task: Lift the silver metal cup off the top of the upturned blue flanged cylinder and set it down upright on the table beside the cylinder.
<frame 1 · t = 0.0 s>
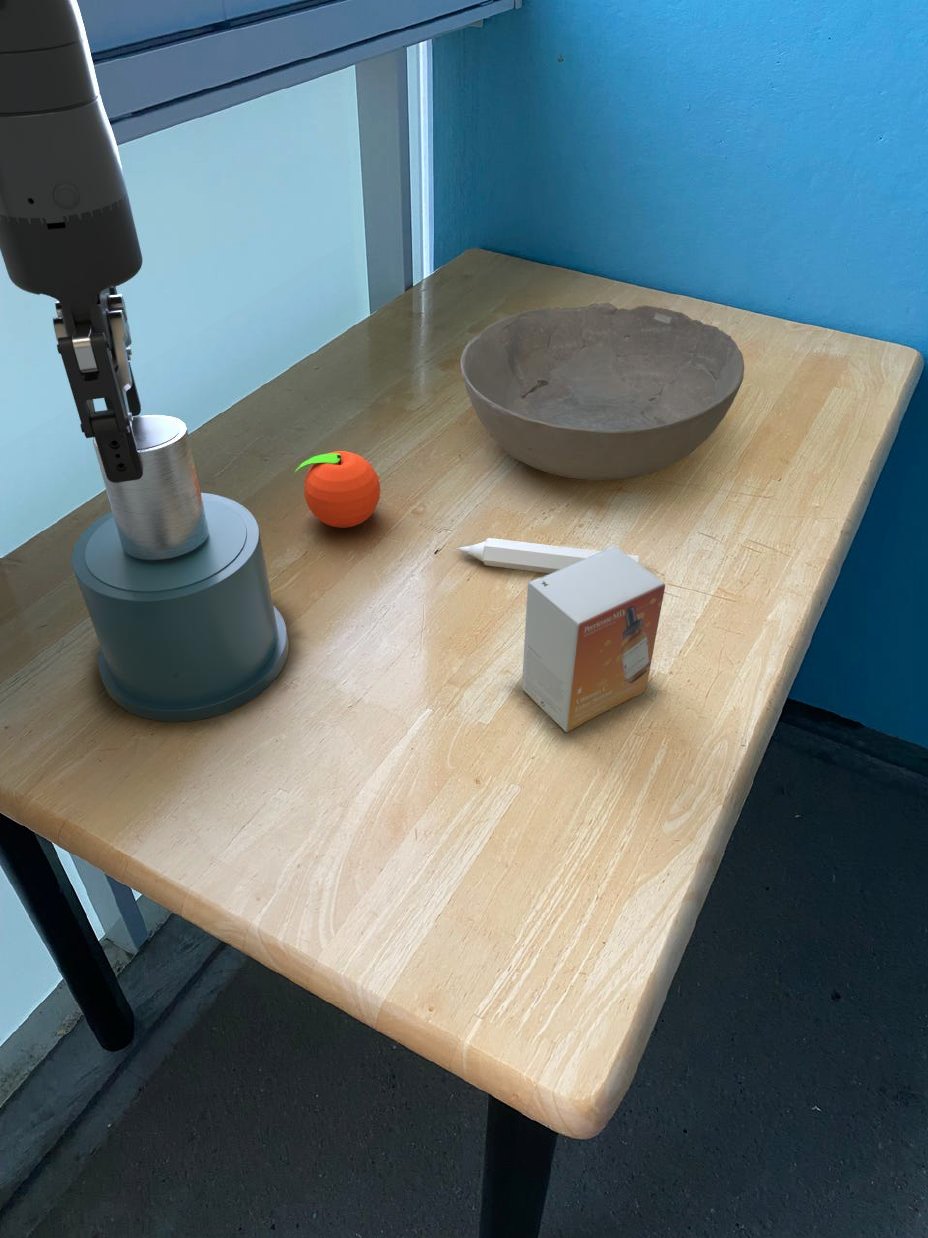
hand: (126, 445, 62), 18 cm above the table, tool pointing down, fingers open, 8 cm apart
blue flanged cylinder: (196, 654, 74), on the table
cup: (165, 537, 66), point 11 cm above the table, tilted 5°, touching blue flanged cylinder, gripper
clementine: (340, 522, 87), on the table
bowl: (592, 443, 98), on the table
white pencil: (543, 569, 82), on the table
small box: (583, 692, 70), on the table
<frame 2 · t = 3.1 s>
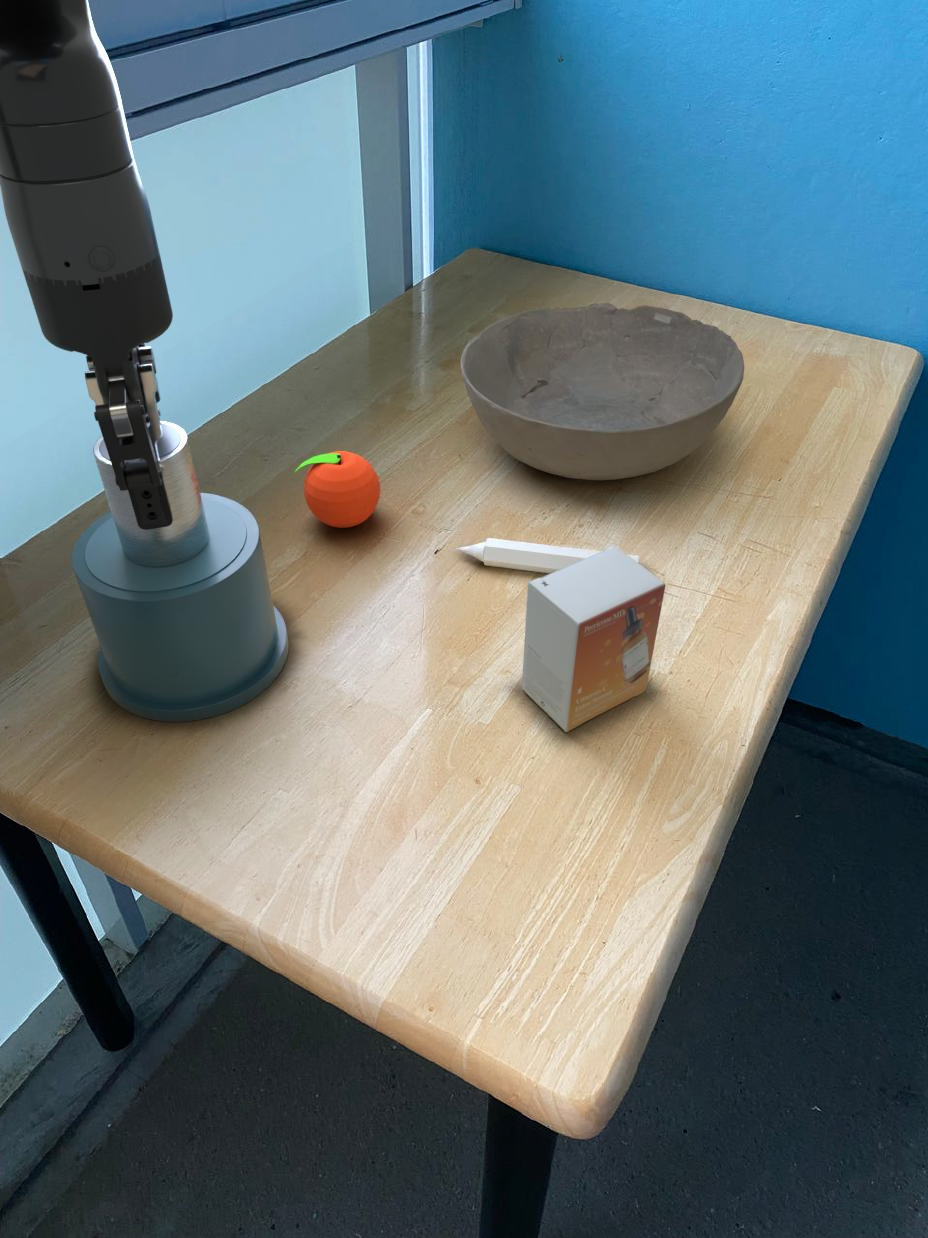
hand: (155, 497, 64), 15 cm above the table, tool pointing down, fingers closed on cup, 6 cm apart
cup: (166, 541, 66), point 11 cm above the table, touching blue flanged cylinder, gripper
everything else where it was.
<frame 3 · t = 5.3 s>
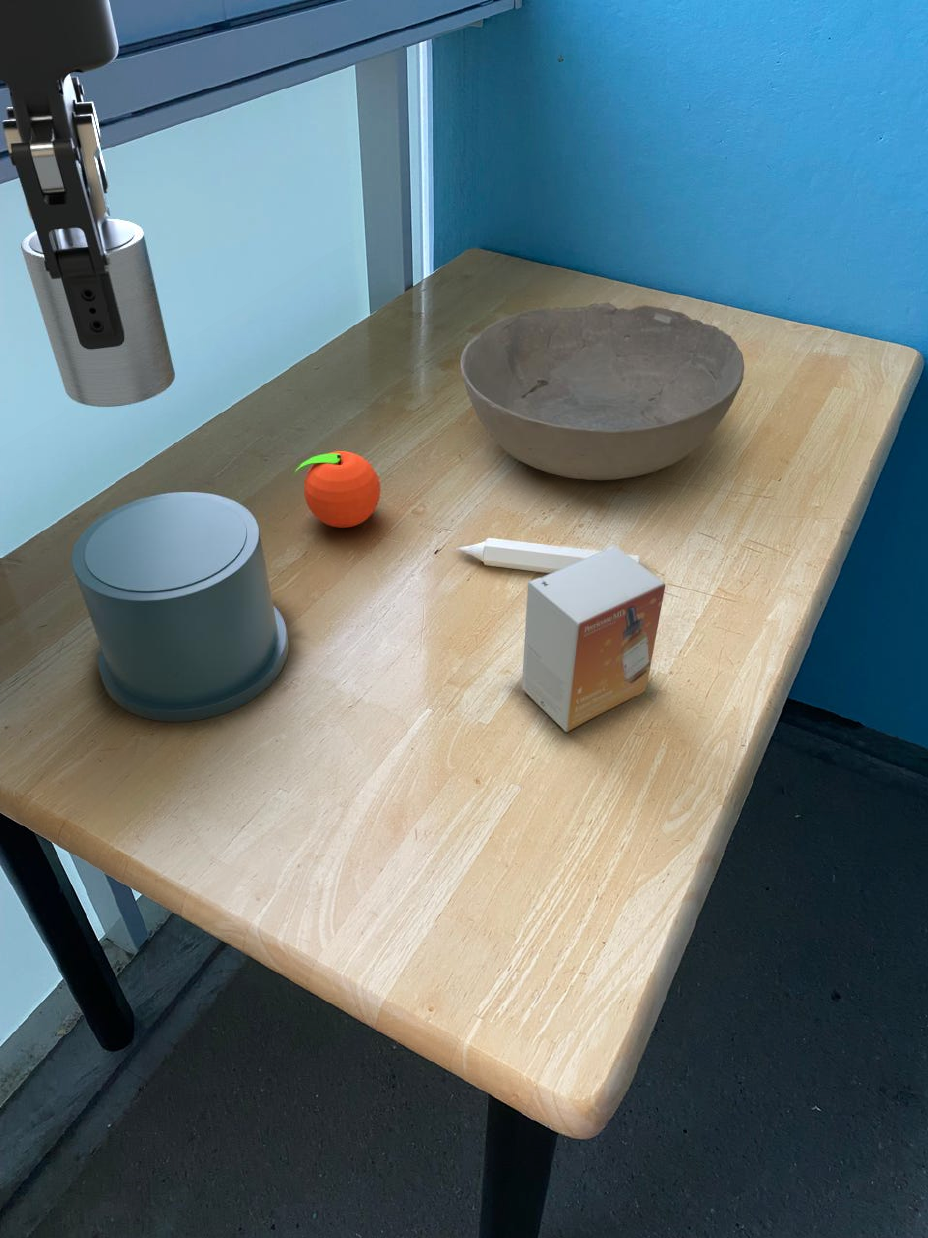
hand: (103, 318, 50), 30 cm above the table, tool pointing down, fingers closed on cup, 6 cm apart
cup: (120, 381, 53), point 26 cm above the table, touching gripper
everything else where it was.
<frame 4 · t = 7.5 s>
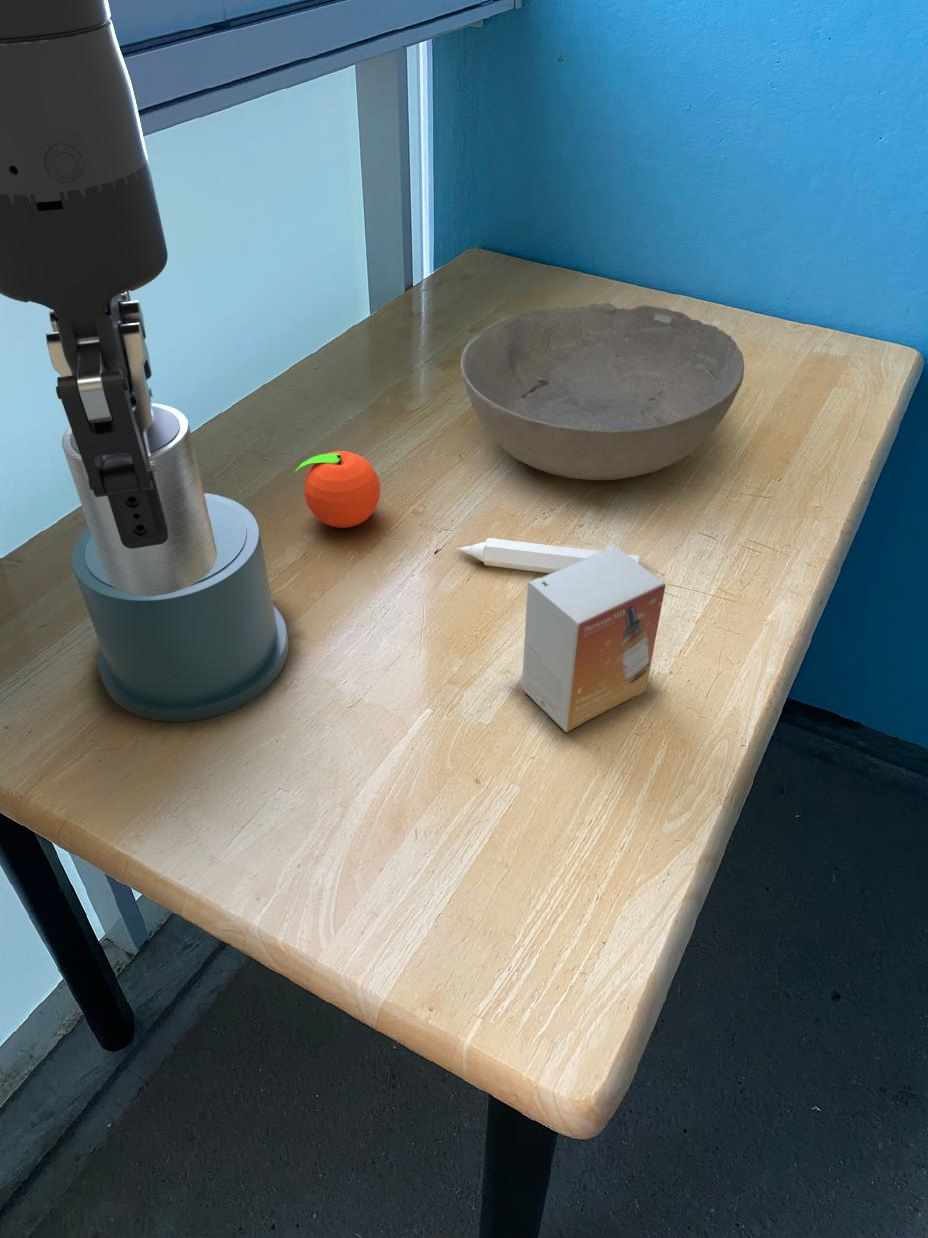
hand: (145, 504, 48), 23 cm above the table, tool pointing down, fingers closed on cup, 6 cm apart
cup: (161, 561, 51), point 19 cm above the table, touching gripper
everything else where it was.
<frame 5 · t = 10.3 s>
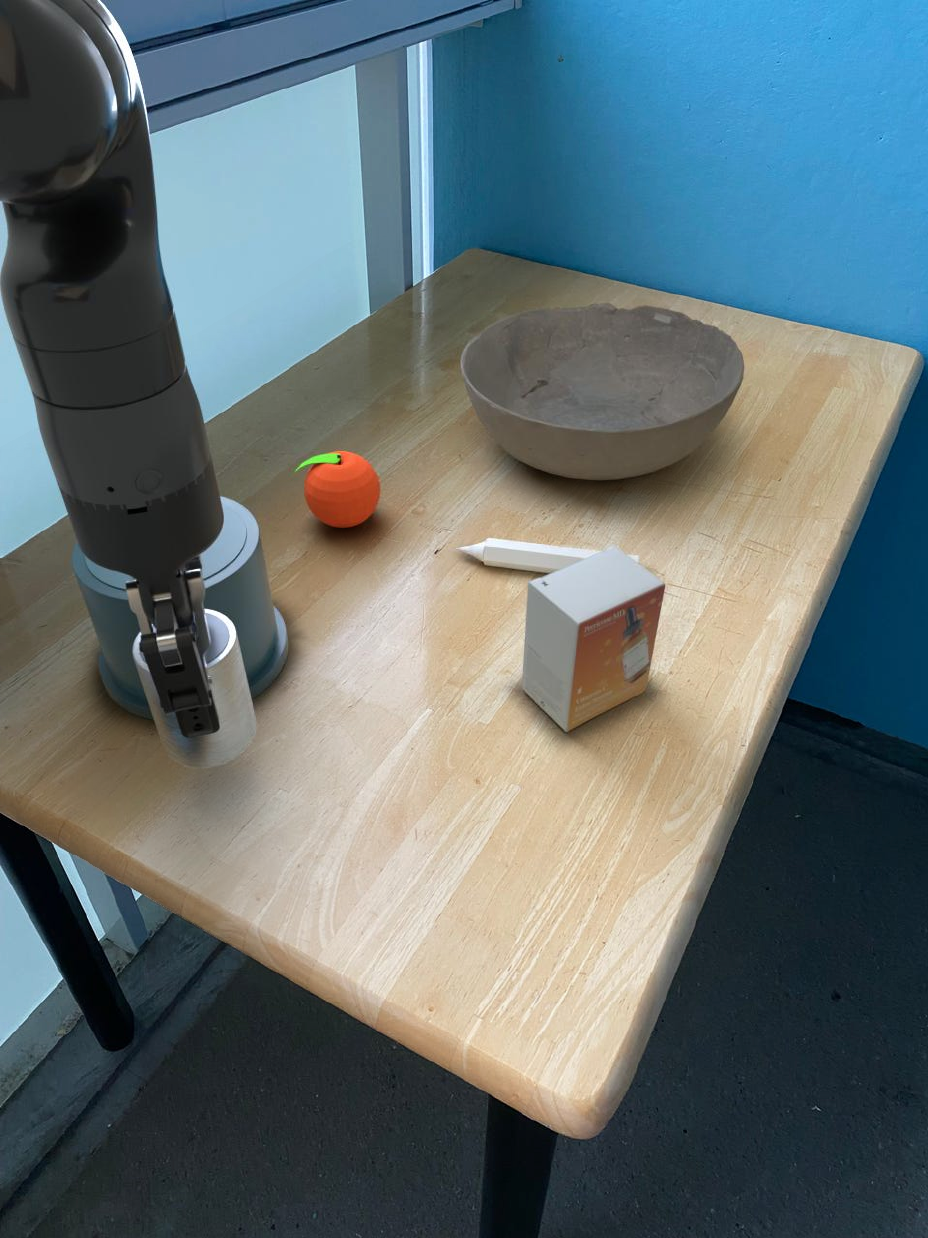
hand: (198, 692, 57), 9 cm above the table, tool pointing down, fingers closed on cup, 6 cm apart
cup: (210, 732, 60), point 6 cm above the table, touching gripper
everything else where it was.
when the fingers open (4 cm above the table, at t = 12.2 s): cup stays where it is, on the table.
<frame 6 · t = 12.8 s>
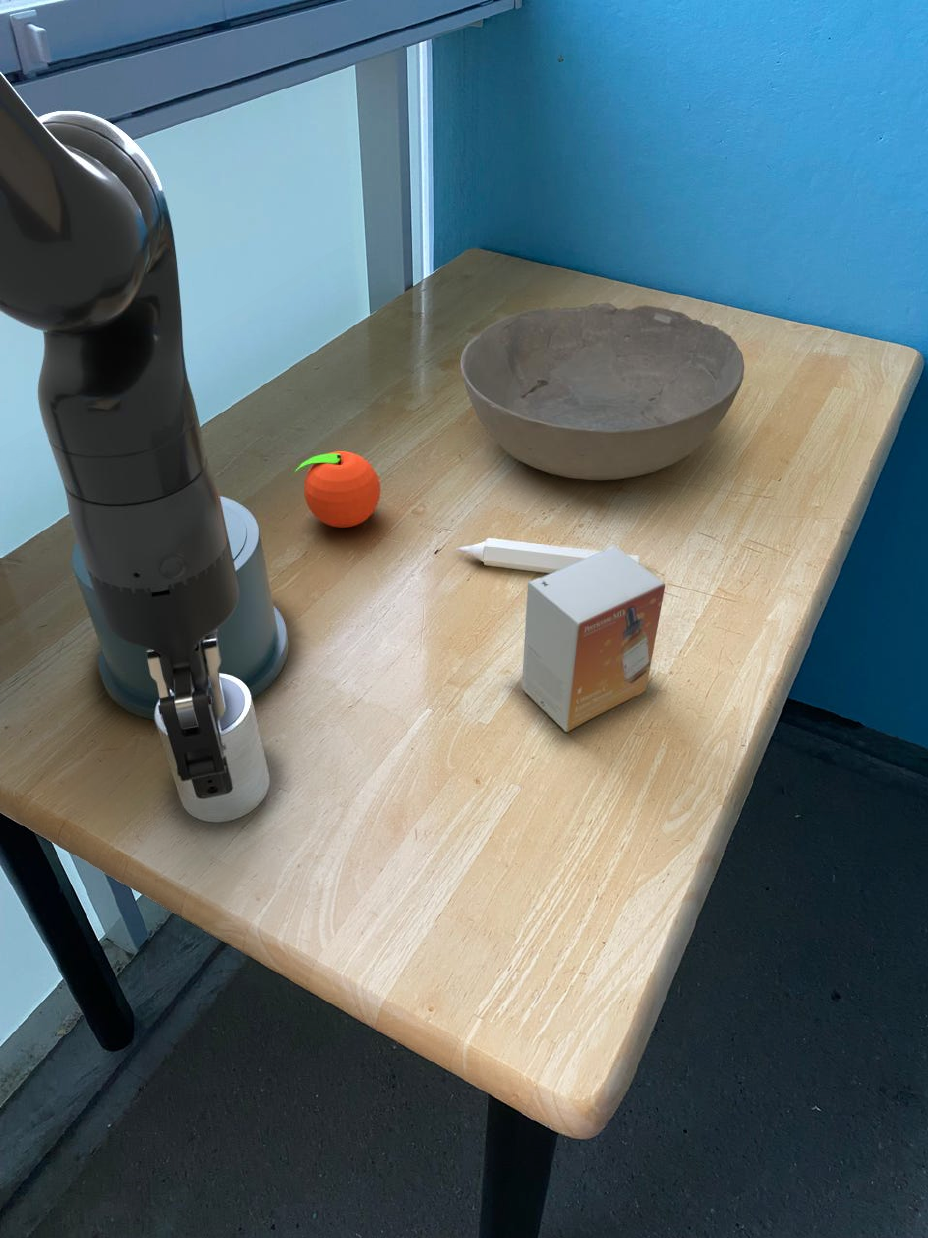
hand: (210, 741, 60), 5 cm above the table, tool pointing down, fingers open, 8 cm apart
cup: (225, 786, 64), on the table
everything else where it was.
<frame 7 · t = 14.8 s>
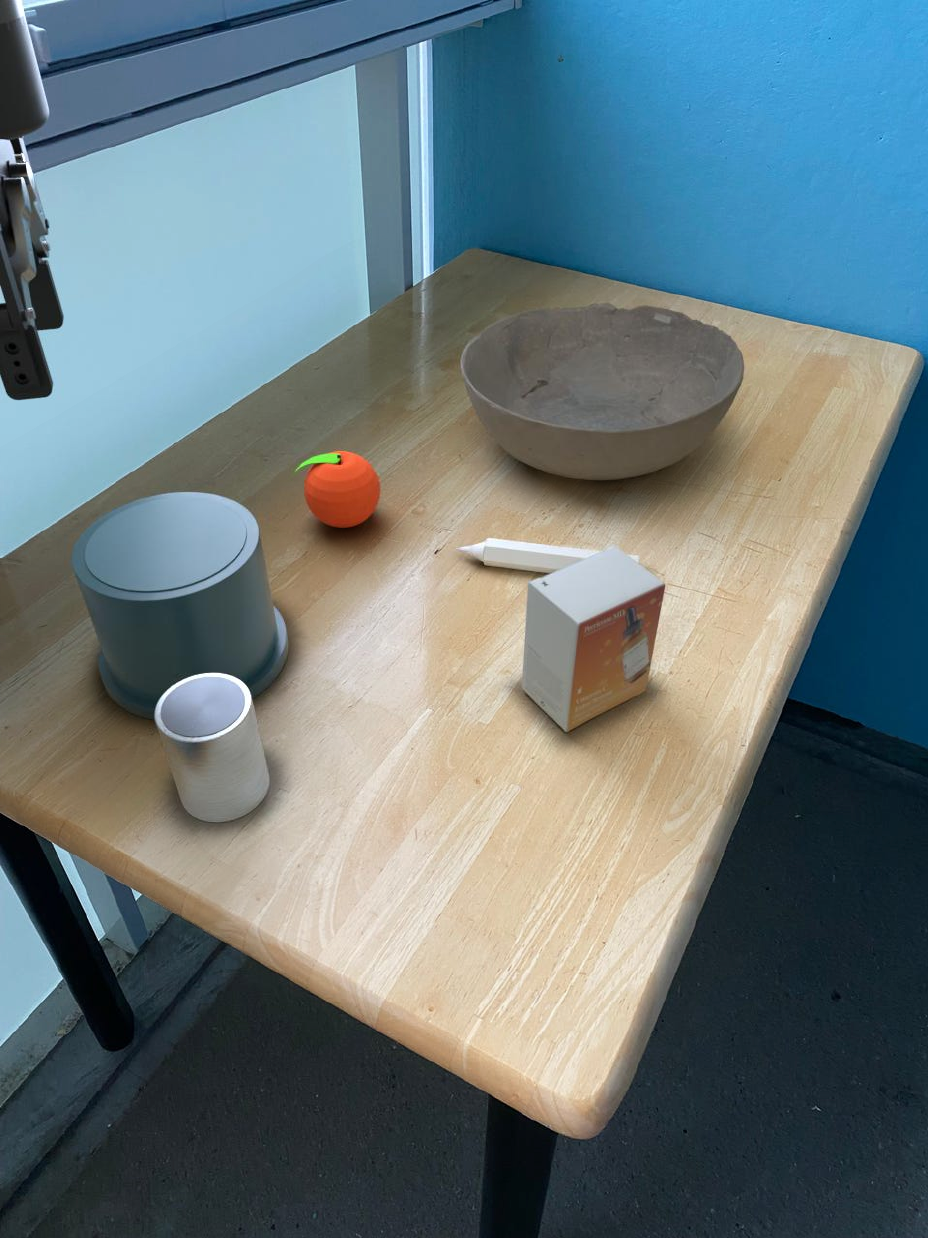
hand: (39, 359, 51), 28 cm above the table, tool pointing down, fingers open, 8 cm apart
nothing on the table moved.
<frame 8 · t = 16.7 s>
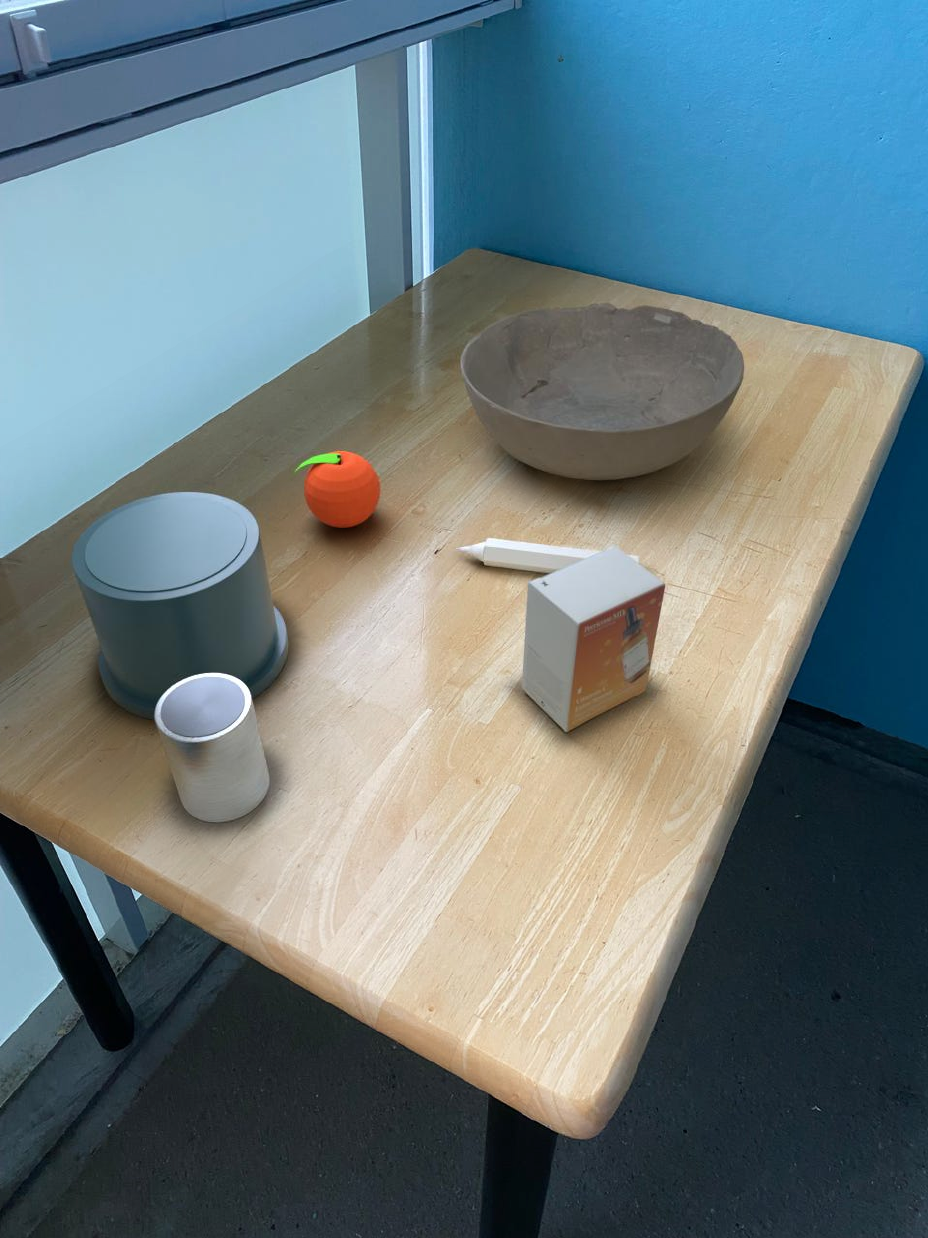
nothing on the table moved.
at the end: cup inside the target area (0.1 cm from its centre), on the table; cup tilted 0°; the gripper is holding nothing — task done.
